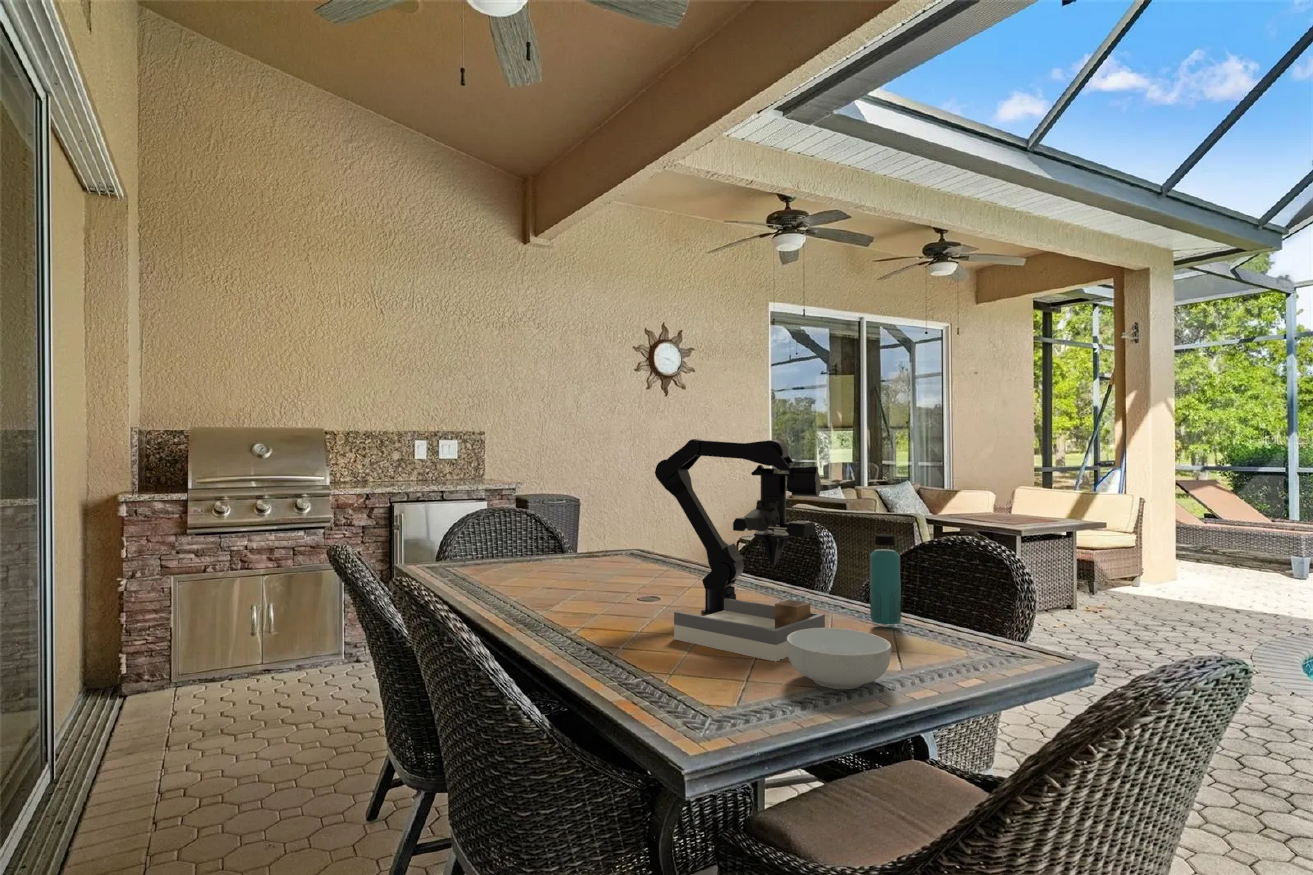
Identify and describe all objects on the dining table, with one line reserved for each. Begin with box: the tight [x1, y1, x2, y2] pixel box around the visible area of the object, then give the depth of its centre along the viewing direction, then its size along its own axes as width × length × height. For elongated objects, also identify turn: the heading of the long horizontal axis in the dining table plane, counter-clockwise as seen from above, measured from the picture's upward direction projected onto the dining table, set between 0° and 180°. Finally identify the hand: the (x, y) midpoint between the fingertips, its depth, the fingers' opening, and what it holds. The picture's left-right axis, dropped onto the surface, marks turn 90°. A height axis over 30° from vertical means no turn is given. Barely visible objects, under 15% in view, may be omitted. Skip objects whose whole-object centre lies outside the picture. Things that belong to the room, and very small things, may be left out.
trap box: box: [673, 598, 826, 662], centre depth 153 cm, size 24×18×6 cm
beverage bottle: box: [869, 533, 903, 625], centre depth 164 cm, size 6×7×20 cm
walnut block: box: [774, 599, 811, 629], centre depth 151 cm, size 5×5×5 cm
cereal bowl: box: [786, 627, 892, 690], centre depth 127 cm, size 17×17×7 cm
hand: (773, 564), depth 173 cm, fingers closed
